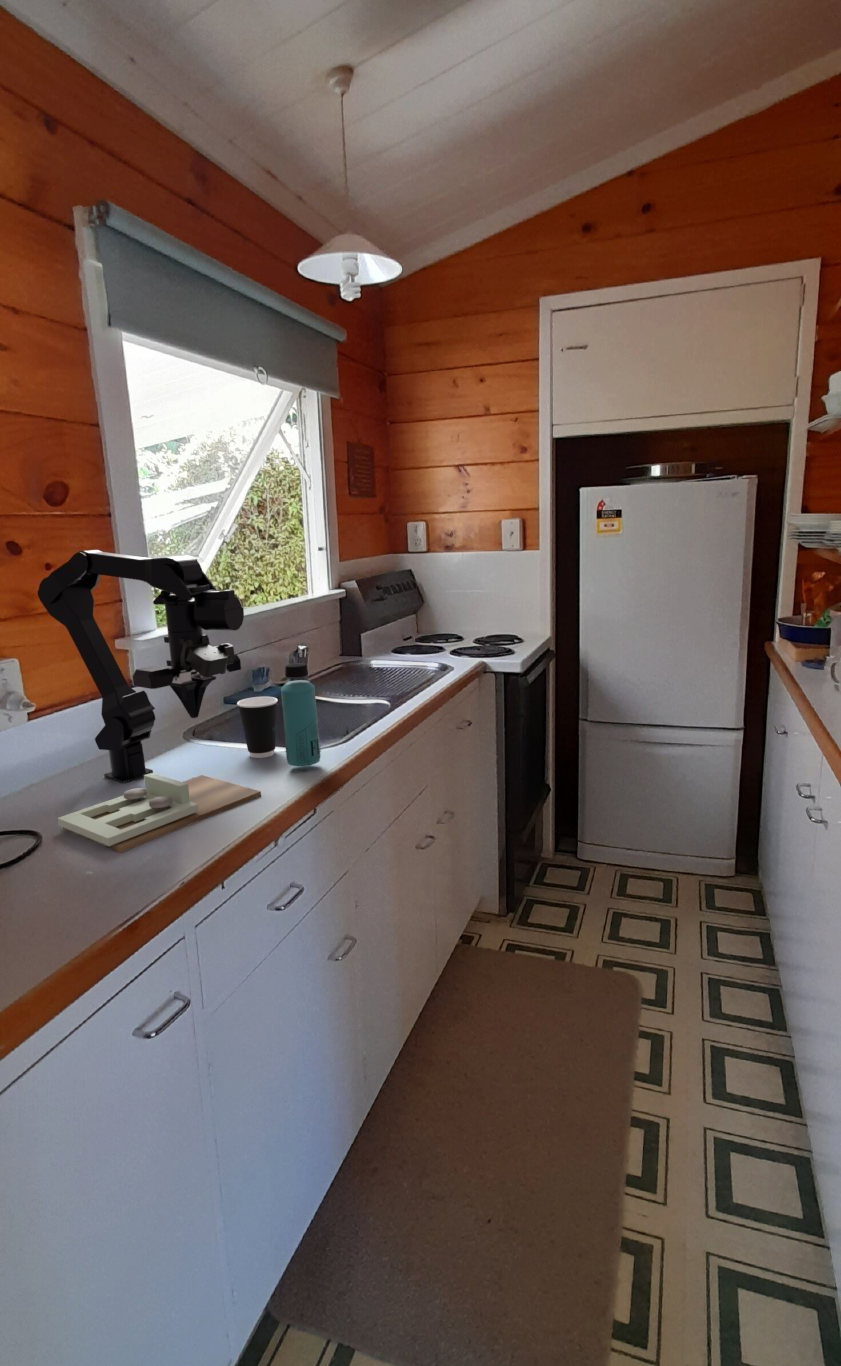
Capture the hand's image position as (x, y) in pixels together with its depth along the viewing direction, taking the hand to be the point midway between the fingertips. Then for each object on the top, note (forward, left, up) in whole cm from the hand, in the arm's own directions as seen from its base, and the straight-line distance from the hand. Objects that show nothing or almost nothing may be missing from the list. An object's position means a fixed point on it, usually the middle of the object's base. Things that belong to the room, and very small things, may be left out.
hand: (194, 717), depth 130 cm
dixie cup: (-3, +17, -12) cm, 21 cm away
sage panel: (+7, -18, -11) cm, 22 cm away
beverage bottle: (+11, +15, -12) cm, 22 cm away
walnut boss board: (+7, -12, -12) cm, 18 cm away
